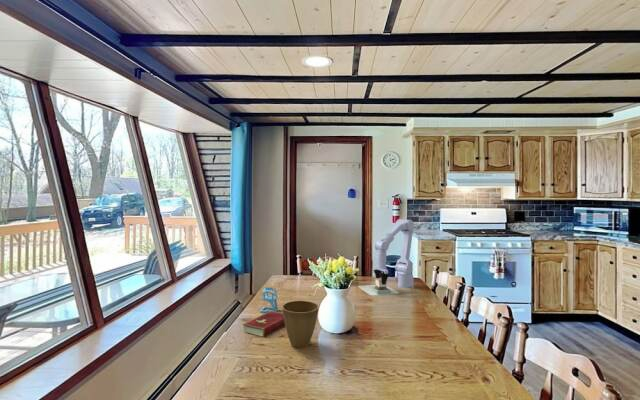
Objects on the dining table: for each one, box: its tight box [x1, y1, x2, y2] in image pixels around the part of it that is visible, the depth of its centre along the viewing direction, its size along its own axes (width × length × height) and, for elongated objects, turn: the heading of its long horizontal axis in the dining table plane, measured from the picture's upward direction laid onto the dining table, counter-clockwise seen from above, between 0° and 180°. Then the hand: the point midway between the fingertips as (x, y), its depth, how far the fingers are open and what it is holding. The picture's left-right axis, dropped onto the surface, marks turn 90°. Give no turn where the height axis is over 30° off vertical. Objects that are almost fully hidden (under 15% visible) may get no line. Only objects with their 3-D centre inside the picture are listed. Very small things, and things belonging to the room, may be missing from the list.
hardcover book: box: [241, 311, 285, 338], centre depth 176 cm, size 12×21×4 cm, turn 150°
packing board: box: [357, 284, 399, 296], centre depth 238 cm, size 19×22×3 cm
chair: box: [259, 287, 279, 314], centre depth 198 cm, size 8×8×12 cm
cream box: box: [375, 277, 388, 287], centre depth 232 cm, size 5×5×4 cm
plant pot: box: [282, 300, 320, 349], centre depth 157 cm, size 15×15×16 cm
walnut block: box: [374, 284, 388, 290], centre depth 232 cm, size 5×5×4 cm
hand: (381, 282), depth 232 cm, fingers open, 7 cm apart
